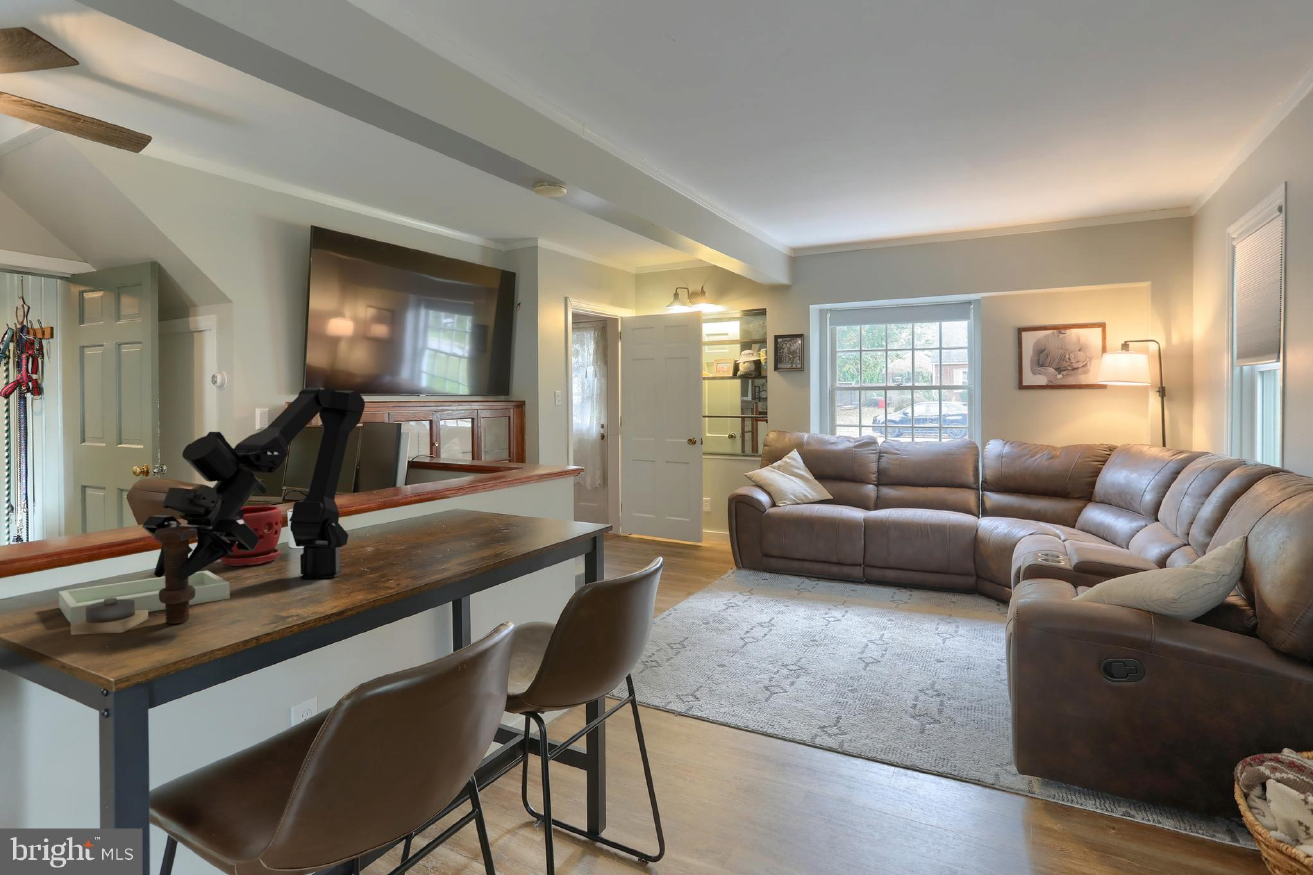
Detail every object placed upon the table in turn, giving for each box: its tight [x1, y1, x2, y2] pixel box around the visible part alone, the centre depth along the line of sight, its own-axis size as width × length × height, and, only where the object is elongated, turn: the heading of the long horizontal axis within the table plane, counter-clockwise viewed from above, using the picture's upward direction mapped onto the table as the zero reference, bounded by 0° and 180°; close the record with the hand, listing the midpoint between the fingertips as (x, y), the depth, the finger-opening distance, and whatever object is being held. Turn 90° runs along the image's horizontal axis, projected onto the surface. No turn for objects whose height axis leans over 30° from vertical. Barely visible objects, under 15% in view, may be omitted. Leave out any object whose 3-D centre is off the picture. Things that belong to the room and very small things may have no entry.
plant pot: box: [219, 505, 283, 567], centre depth 155 cm, size 13×13×12 cm
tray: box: [58, 570, 231, 626], centre depth 122 cm, size 22×14×3 cm, turn 137°
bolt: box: [154, 526, 198, 625], centre depth 110 cm, size 6×5×15 cm
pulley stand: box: [70, 598, 149, 636], centre depth 108 cm, size 7×7×4 cm
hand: (168, 577), depth 109 cm, fingers closed on bolt, 4 cm apart
